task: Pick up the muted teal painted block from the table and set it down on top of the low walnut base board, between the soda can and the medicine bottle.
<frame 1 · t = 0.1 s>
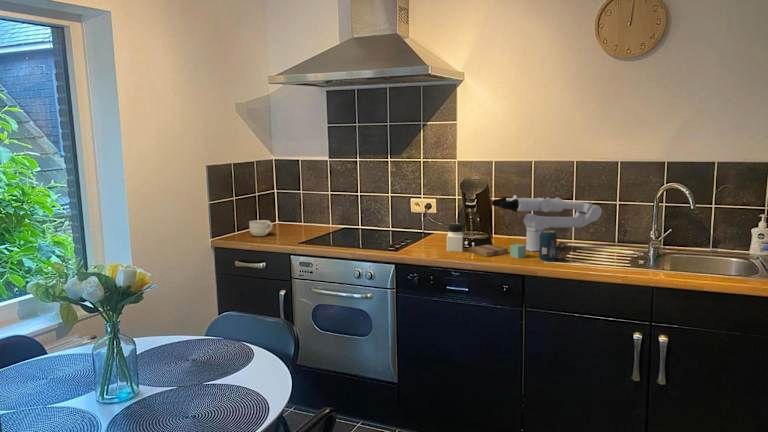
hand: (496, 204, 259), 22 cm above the table, tool horizontal, fingers open, 7 cm apart
walnut base: (487, 252, 264), on the table
soda can: (547, 260, 248), on the table
teal block: (517, 256, 255), on the table
medicine bottle: (455, 250, 270), on the table
teacup: (262, 236, 316), on the table
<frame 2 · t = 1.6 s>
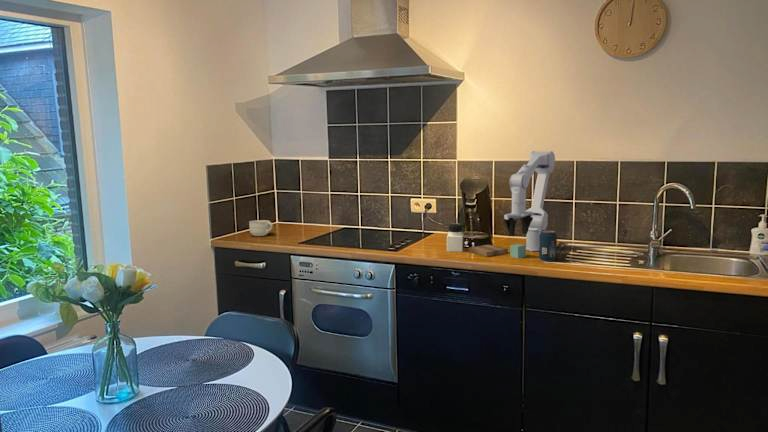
hand: (518, 234, 253), 9 cm above the table, tool pointing down, fingers open, 7 cm apart
nothing on the table moved.
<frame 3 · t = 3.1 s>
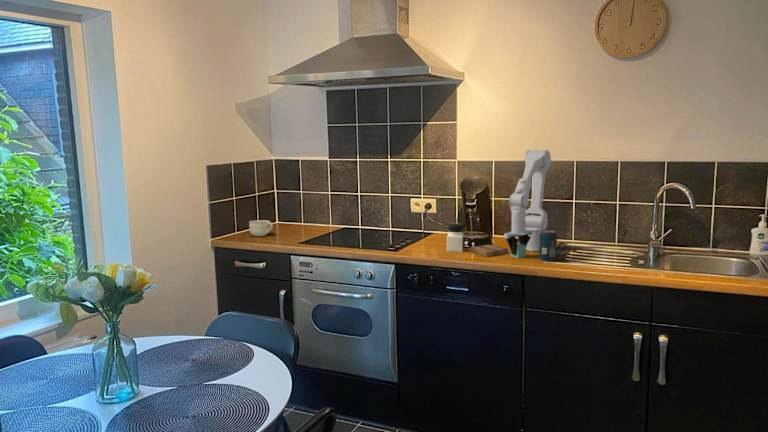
hand: (518, 253, 255), 1 cm above the table, tool pointing down, fingers closed on teal block, 4 cm apart
teal block: (517, 256, 255), on the table, touching gripper
everything else where it was.
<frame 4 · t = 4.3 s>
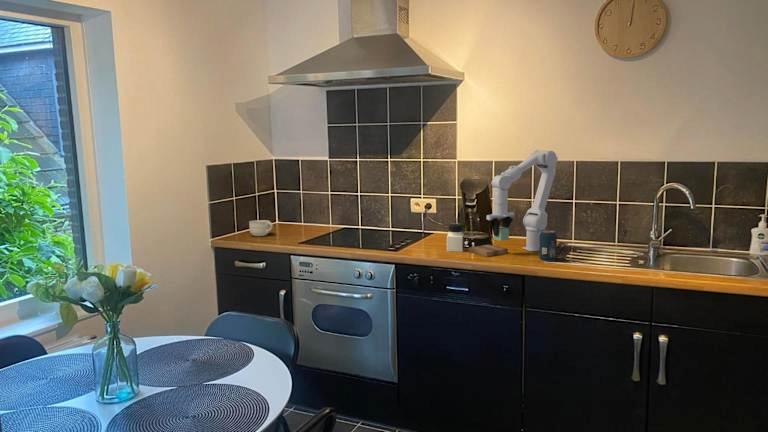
hand: (500, 235, 259), 8 cm above the table, tool pointing down, fingers closed on teal block, 4 cm apart
teal block: (501, 239, 259), point 7 cm above the table, touching gripper
everything else where it was.
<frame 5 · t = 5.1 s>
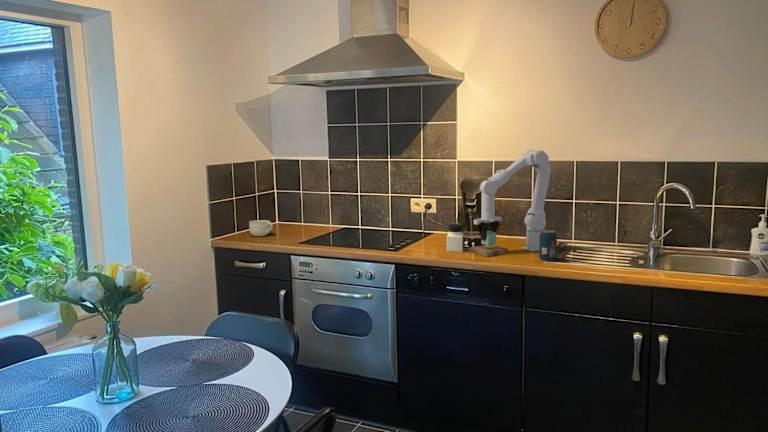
hand: (487, 239, 263), 6 cm above the table, tool pointing down, fingers closed on teal block, 4 cm apart
teal block: (488, 243, 263), point 4 cm above the table, touching gripper
everything else where it was.
when the fingers open (5 cm above the table, at t = 5.8 s): teal block stays where it is, resting on walnut base.
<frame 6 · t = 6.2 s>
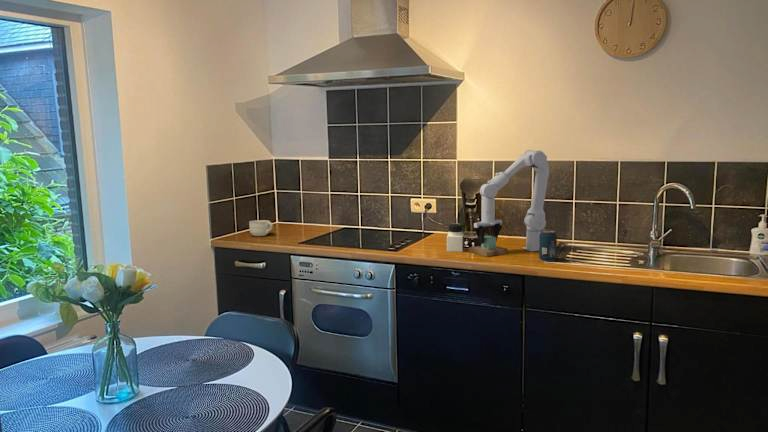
hand: (487, 242, 263), 5 cm above the table, tool pointing down, fingers open, 7 cm apart
teal block: (488, 248, 263), point 2 cm above the table, touching walnut base
everything else where it was.
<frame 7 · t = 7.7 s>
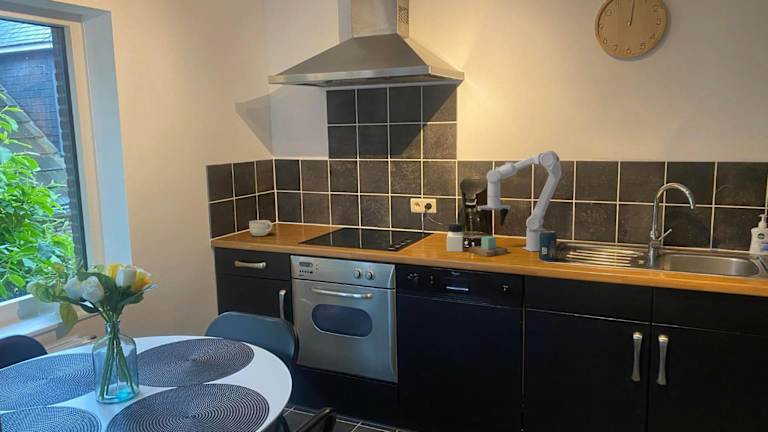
hand: (493, 225, 274), 10 cm above the table, tool pointing down, fingers open, 7 cm apart
nothing on the table moved.
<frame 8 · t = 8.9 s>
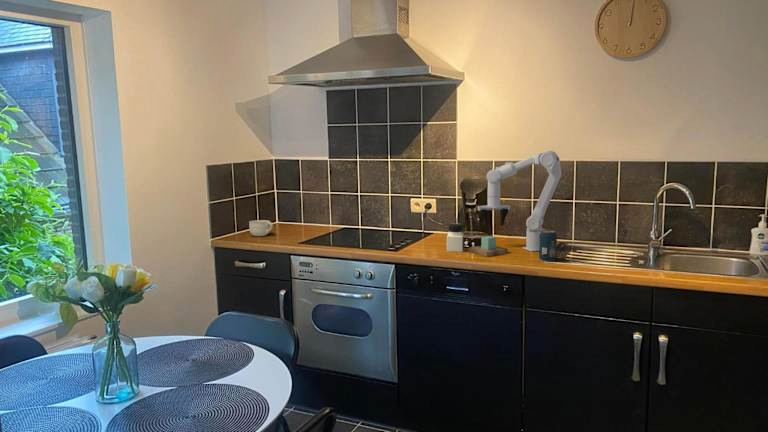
hand: (493, 225, 274), 10 cm above the table, tool pointing down, fingers open, 7 cm apart
nothing on the table moved.
at the end: teal block inside the target area on the walnut base (0.5 cm from its centre), point 2.0 cm above the walnut base's base; teal block tilted 0°; the gripper is holding nothing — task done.
